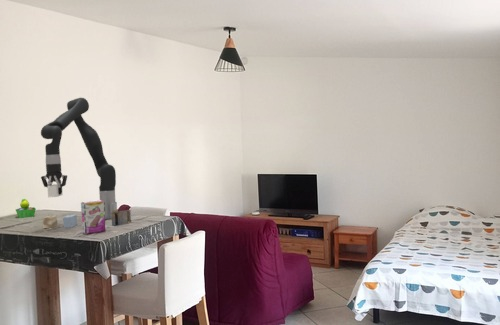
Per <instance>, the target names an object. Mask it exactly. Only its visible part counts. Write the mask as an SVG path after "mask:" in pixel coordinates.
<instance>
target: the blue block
mask: <svg viewBox="0 0 500 325" xmlns="http://www.w3.org/2000/svg"><path fill="white" fill-rule="evenodd" d="M77 217H78V216H77V214H67V215H66V216H63V217H62V222H63V224H62V227H63V229H70V228H73V227H74V228H75V227H76V226H77V225H78V218H77Z"/></svg>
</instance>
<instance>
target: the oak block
mask: <svg viewBox="0 0 500 325" xmlns="http://www.w3.org/2000/svg"><path fill="white" fill-rule="evenodd" d="M55 226H56V227H58V215H48V216H44V217H43V218H42V227H43V228H51V229H53V227H54V228H55ZM43 228H42V229H43Z"/></svg>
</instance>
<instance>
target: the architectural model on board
mask: <svg viewBox="0 0 500 325" xmlns="http://www.w3.org/2000/svg"><path fill="white" fill-rule="evenodd" d="M118 210H119V209H118V208H117V210H114V211H112V212H113V213H111V215H112V219H111V226H112V227H116V226H122V225H127V224H131V223H132V218H131V216H132V215H131V210H129V209H125V210H120V211H118Z"/></svg>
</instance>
